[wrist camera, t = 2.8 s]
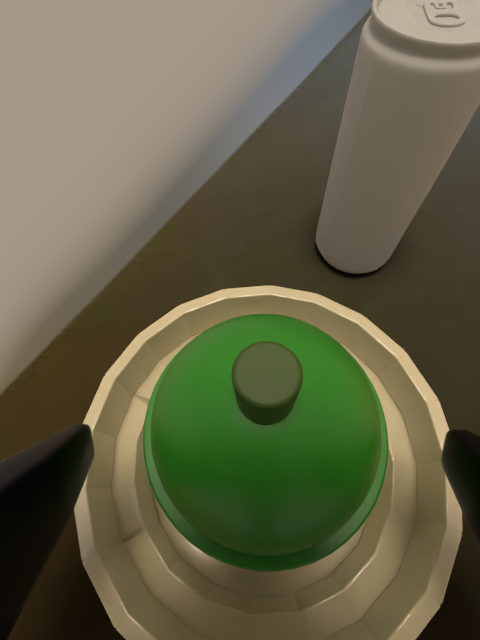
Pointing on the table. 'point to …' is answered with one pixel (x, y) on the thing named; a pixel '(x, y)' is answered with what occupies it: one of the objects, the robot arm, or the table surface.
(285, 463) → the green spray can
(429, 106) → the beverage can
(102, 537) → the bowl
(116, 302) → the table surface
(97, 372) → the table surface
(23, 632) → the table surface
